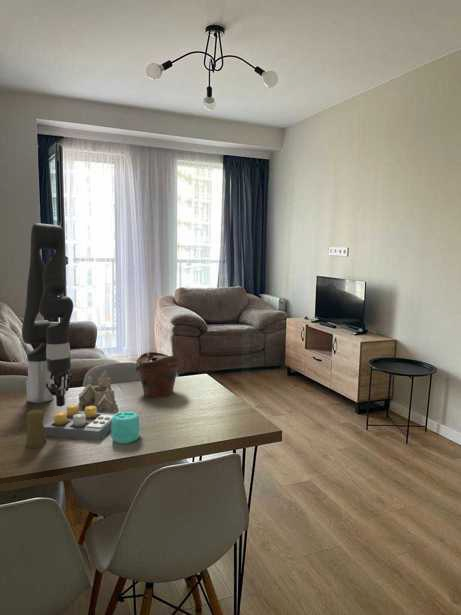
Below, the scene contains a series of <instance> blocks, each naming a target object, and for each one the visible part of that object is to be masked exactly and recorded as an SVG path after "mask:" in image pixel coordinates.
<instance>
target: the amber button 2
mask: <svg viewBox="0 0 461 615" xmlns="http://www.w3.org/2000/svg"><path fill="white" fill-rule="evenodd" d="M66 412H67V416H74V415H76V414H79V408H78V404H68V405H67V406H66Z"/></svg>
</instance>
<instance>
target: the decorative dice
mask: <svg viewBox="0 0 461 615" xmlns="http://www.w3.org/2000/svg"><path fill="white" fill-rule="evenodd" d="M110 432H111V434H110V435H111V439H112V440H113V441H114V442H115V443H118V444H130V443H133V442H136V441H137V440H138V439H139V436H140V416H139V414H138V413H136V412H135V411H130V410H129V411H127V410H126V411H120V412H116V413H115V415H114V416H113V418H112V424H111V430H110Z"/></svg>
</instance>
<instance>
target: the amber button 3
mask: <svg viewBox="0 0 461 615" xmlns="http://www.w3.org/2000/svg"><path fill="white" fill-rule="evenodd" d="M85 415H86V418H93V417H96V416H97V407H96V406H88V407H85Z"/></svg>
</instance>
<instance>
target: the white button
mask: <svg viewBox="0 0 461 615" xmlns="http://www.w3.org/2000/svg"><path fill="white" fill-rule="evenodd" d="M85 424H86V415H85V414H76V415H74V416H73V425H74V426H84V425H85Z"/></svg>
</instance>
